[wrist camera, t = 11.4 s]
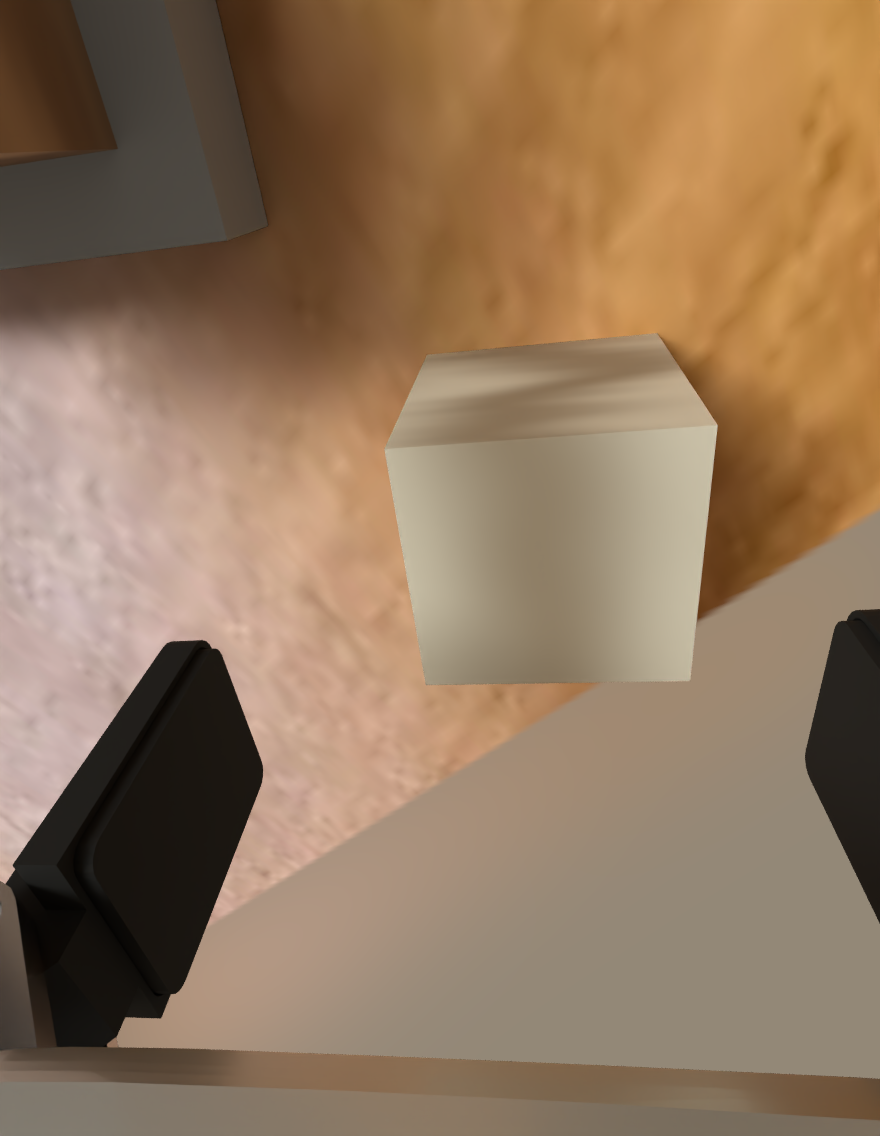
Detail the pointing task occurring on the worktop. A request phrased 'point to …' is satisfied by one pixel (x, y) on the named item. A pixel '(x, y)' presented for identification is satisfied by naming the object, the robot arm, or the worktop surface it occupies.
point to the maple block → (554, 512)
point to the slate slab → (142, 145)
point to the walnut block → (47, 86)
